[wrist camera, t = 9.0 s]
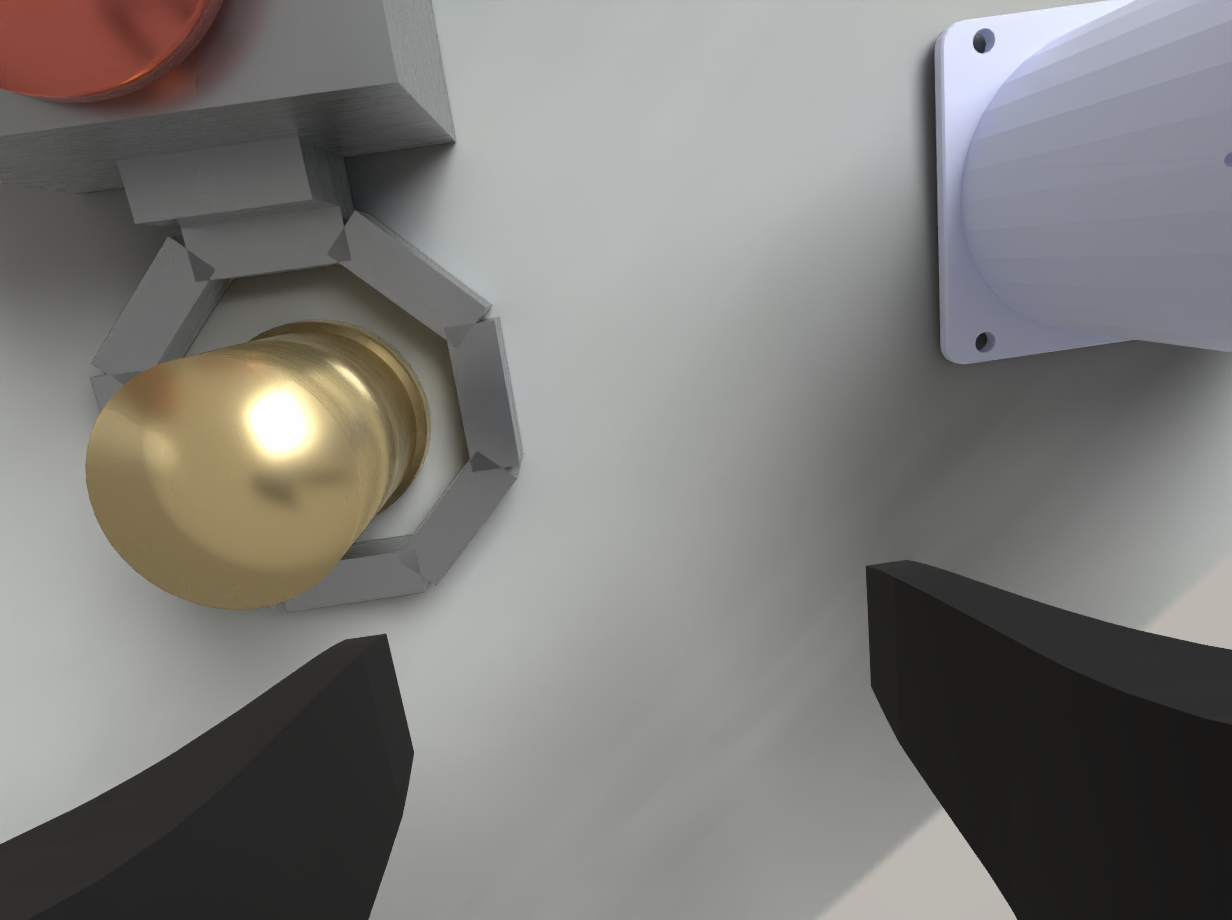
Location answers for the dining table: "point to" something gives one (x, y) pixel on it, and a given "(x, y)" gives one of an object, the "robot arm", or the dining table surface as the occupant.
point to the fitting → (256, 461)
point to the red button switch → (259, 194)
